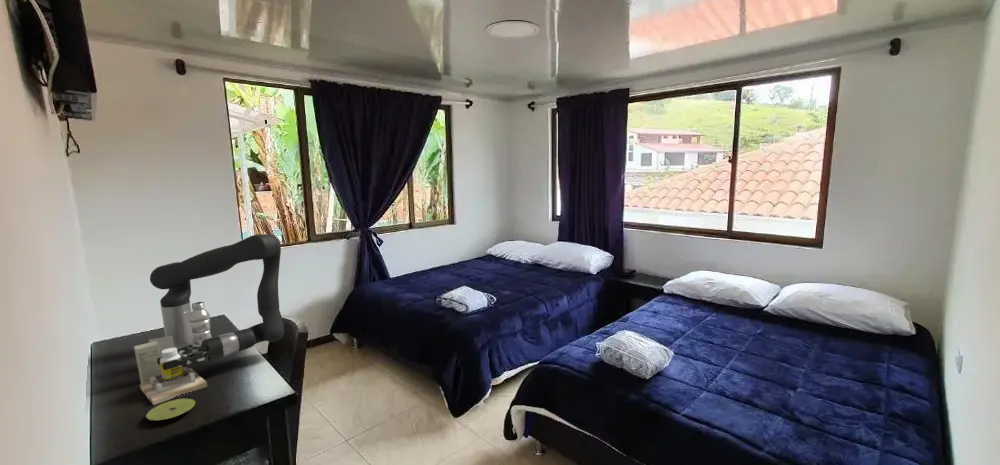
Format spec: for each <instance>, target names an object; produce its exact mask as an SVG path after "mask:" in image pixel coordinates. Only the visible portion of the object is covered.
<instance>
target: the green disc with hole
mask: <svg viewBox="0 0 1000 465" xmlns="http://www.w3.org/2000/svg"><path fill="white" fill-rule="evenodd" d="M195 406H196V401H195V400H194V399H193V398H178V399H177V398H176V399H173V400H168V401H167V402H166V401H165V402H162V403H159V404H157V405H155V406H154V407H153V408H151V409H150V410H149V411H148V412H147V414H146V415H145V417H146V419H148V420H149V421H161V420H162V421H163V420H168V419H172V418H175V417H179V416H180V415H182V414H185V413H187V412H188V411H190V410H191V409H193V407H195Z"/></svg>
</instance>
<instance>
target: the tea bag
mask: <svg viewBox="0 0 1000 465" xmlns="http://www.w3.org/2000/svg"><path fill="white" fill-rule="evenodd" d="M153 341H157V342H158V345H159V351H160V356H161V357H162V353H161V352H162V351H163V350H165V349H168V348H175V346H174V341H173V336H167V337H165V336H162V337H161V336H160V337H157V338H150V339H148V343H149V342H153Z"/></svg>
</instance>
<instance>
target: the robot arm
mask: <svg viewBox="0 0 1000 465" xmlns="http://www.w3.org/2000/svg"><path fill="white" fill-rule="evenodd" d="M281 246H282V245H281V241H280V238H278V237H277V236H276V235H275V234H271V233H270V234H269V233H268V234H267V233H263V234H260V233H259V234H253V235H250V236H248V237H247V238H244V239H242V240H239V241H238V242H235V243H233V244H230V245H224V246H220V247H216V248H212V249H210V250H206V251H204V252H202V253H199V254H196V255H194V256H191V257H189V258H187V259H185V260H183V261H178V262H177V261H175V262H172V263H171V262H170V263H168V264H163V265H160V266H157V267H156V268H154V269H153V270H152V271H151V274H150V275H149V282H150V283H151V285H152V286H153V287H155V288H156V289H158V290H167V292H166V294H164V295H163V296H162V297H161V299H160V302H159V304H160V310H161V316H162V324H163V328H164V329H163V330H164V337H167V336H173V341H174V346H175V348H177V354H179V355H180V356H181V358H178V359H175V360H172V361H168V362H165V363H163V364H162V367H163V370H168V369H171V368H174V367H177V366H179V367H181V366H182V367H183V368H184V367H187V368H189V367H192V366H196V365H199V364H204V363H205V362H206V361H207V362H212V361H215V360H218V359H223V358H224V357H227V356H231V355H234V354H236V353H238V352H242V351H246V350H248V349H250V348H253V347H254V346H255V345H256V344H260V343H262V342H270V343H271V342H272V343H274V342H278V341H279V340H281V339H282V337H283V335H284V334H285V326H284V325H285V324H284V320H283V318H282V314H281V310H280V300H279V299H280V297H279V274H280V263H281V254H282V253H281V252H282V247H281ZM260 260H262V263H263V272H262V276H261V280H260V281H259V285H258V288H257V293H256V299H257V301H256V302H257V311H258V315H259V316H260V317H261V318H262V322H261V323H258V324H254V325H252V326H250V327H248V328H244V329H243V328H242V329H240V330H237V331H232V332H227V333H223V334H220V335H215V336H211V337H212V338H208V339H205V340H203V341H202V345H201V346H198V347H196V346H194V347H193V344H194V343H193V332H192V328H191V325H190V321H189V316H190V314H191V312H192V305H191V301H190V300H191V299H190V298H191V295H192V287H191V280H192V281H193V280H197V279H201V278H203V279H204V278H207V277H211V276H215V275H217V274H218V275H219V274H221V273H225V272H227V271H228V270H231V269H232V268H233V267H234V266H237V264H240V263H245V262H249V261H260ZM161 358H162V357H160V358H158V359H157V362H158V364H159V365H160V359H161Z"/></svg>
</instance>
